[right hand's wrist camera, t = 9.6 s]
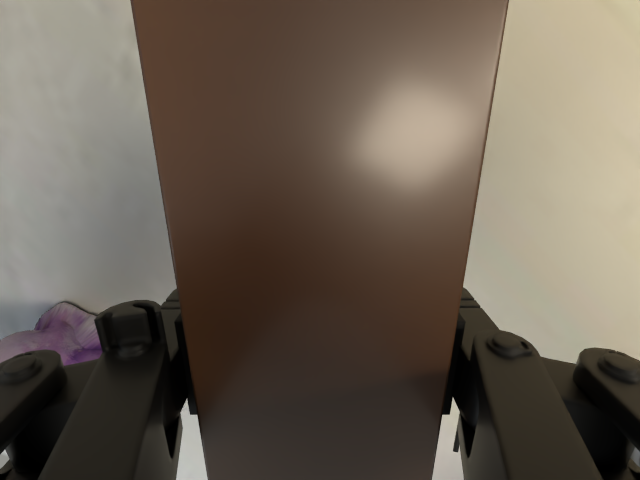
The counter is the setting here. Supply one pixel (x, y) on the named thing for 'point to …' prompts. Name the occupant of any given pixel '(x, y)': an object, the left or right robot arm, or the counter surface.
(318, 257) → the walnut plank
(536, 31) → the counter surface
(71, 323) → the figurine
